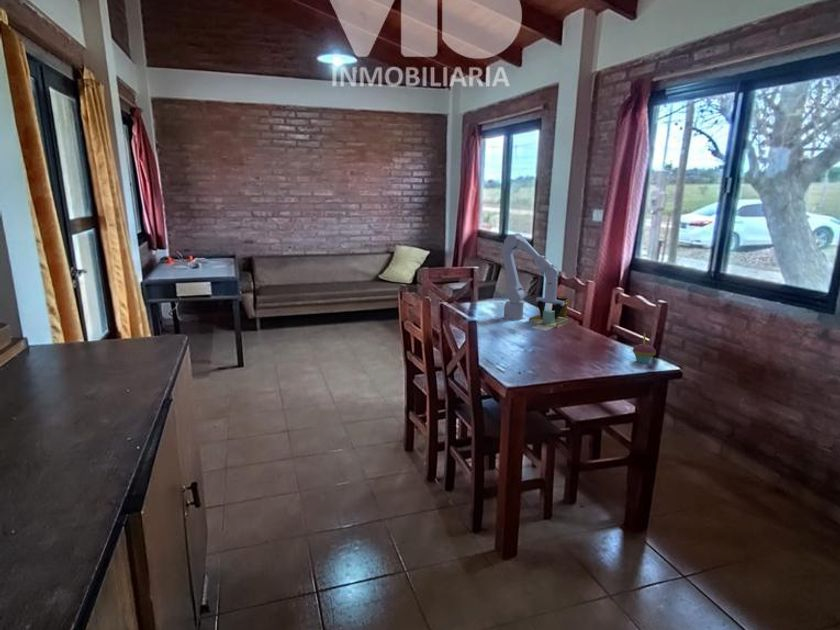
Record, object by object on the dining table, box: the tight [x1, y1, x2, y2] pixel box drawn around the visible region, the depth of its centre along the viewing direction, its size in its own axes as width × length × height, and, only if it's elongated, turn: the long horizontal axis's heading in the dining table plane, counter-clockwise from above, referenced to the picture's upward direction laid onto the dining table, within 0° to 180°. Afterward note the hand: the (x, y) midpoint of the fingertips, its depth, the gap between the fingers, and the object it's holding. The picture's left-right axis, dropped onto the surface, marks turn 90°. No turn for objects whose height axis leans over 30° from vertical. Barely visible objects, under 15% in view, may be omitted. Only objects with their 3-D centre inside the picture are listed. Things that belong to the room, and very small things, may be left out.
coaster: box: [530, 324, 554, 331], centre depth 252 cm, size 8×8×1 cm
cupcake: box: [632, 331, 657, 364], centre depth 205 cm, size 9×8×12 cm
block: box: [542, 309, 555, 324], centre depth 260 cm, size 4×4×6 cm
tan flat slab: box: [528, 313, 570, 329], centre depth 261 cm, size 16×12×3 cm
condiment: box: [554, 295, 568, 318], centre depth 268 cm, size 7×8×12 cm
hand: (549, 317), depth 260 cm, fingers open, 7 cm apart
